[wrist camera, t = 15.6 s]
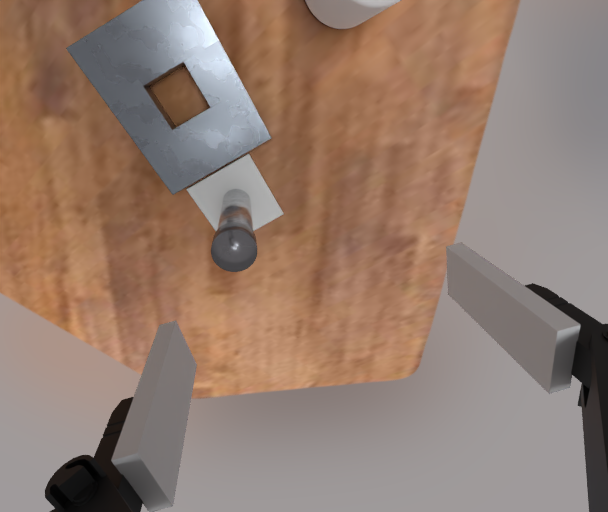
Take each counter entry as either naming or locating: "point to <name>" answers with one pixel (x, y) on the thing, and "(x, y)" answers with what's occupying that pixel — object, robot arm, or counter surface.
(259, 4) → the counter surface
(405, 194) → the counter surface
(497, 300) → the robot arm
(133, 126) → the plate
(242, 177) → the pad
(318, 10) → the beverage can
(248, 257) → the key peg
